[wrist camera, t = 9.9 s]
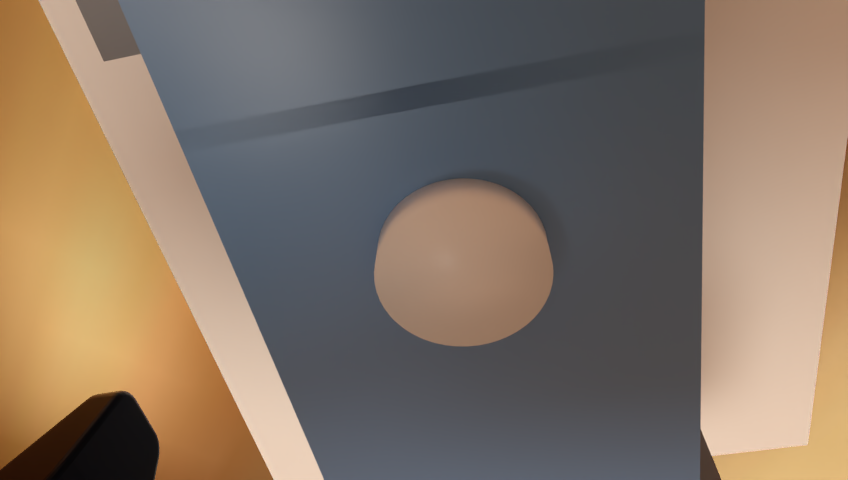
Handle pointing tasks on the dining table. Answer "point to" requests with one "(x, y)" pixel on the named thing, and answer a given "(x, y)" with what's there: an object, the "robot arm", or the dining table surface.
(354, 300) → the block
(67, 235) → the dining table surface
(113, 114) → the plate
